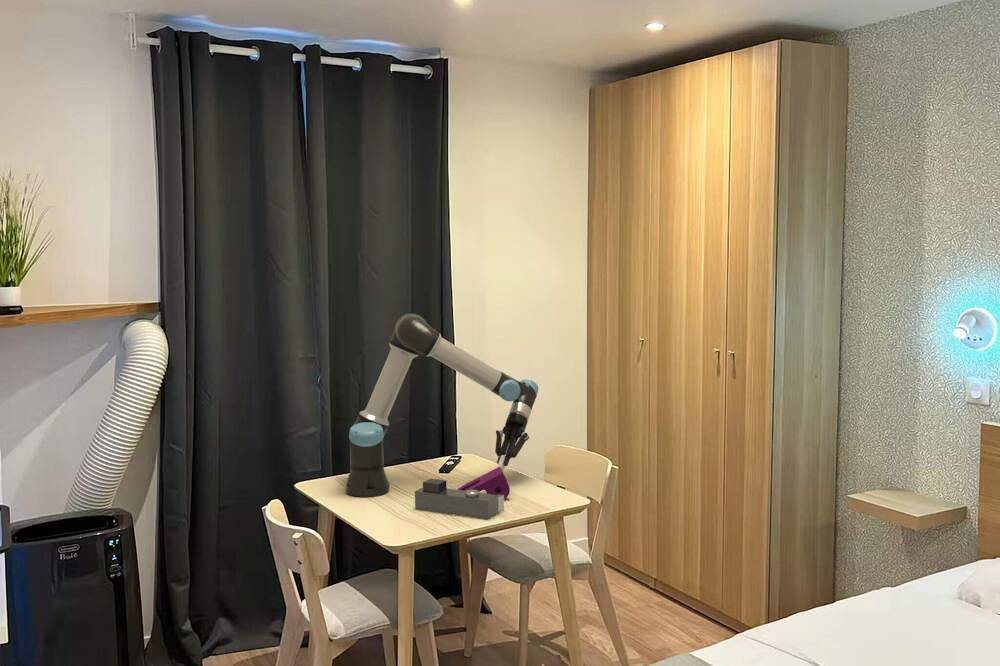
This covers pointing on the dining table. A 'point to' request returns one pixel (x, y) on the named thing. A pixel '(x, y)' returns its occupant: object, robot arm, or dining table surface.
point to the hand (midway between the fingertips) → (499, 472)
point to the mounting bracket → (489, 483)
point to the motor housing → (457, 500)
